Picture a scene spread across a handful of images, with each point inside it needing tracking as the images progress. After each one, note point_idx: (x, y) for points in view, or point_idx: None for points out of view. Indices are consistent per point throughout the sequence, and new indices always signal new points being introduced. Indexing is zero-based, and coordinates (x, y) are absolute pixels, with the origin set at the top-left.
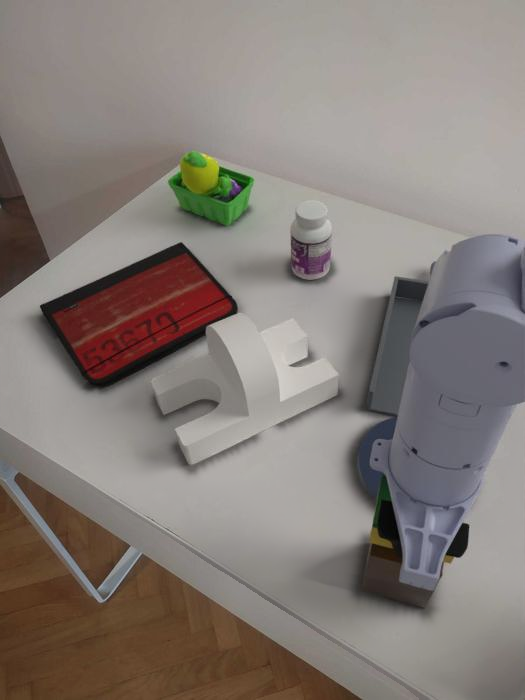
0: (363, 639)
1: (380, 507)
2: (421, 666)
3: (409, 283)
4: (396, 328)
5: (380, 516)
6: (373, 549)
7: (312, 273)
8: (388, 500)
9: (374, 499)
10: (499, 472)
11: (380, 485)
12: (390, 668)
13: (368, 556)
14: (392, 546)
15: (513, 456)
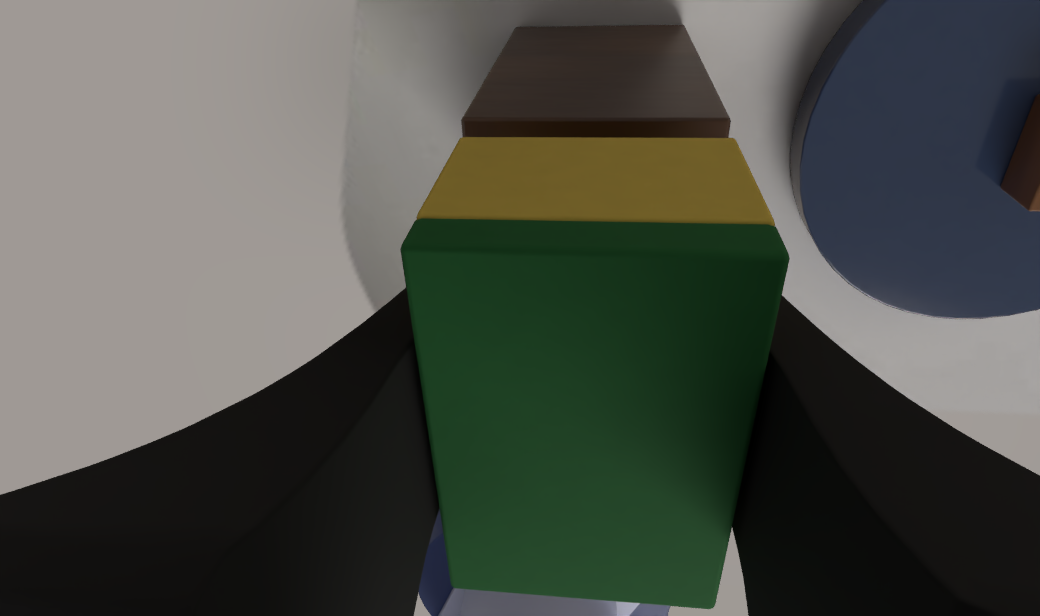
0: (382, 61)
1: (92, 607)
2: (383, 215)
3: None
4: None
5: (3, 608)
6: (492, 131)
7: None
8: (586, 313)
9: (858, 8)
10: (967, 368)
11: (691, 254)
12: (346, 145)
13: (543, 71)
14: (389, 301)
15: (1023, 400)
